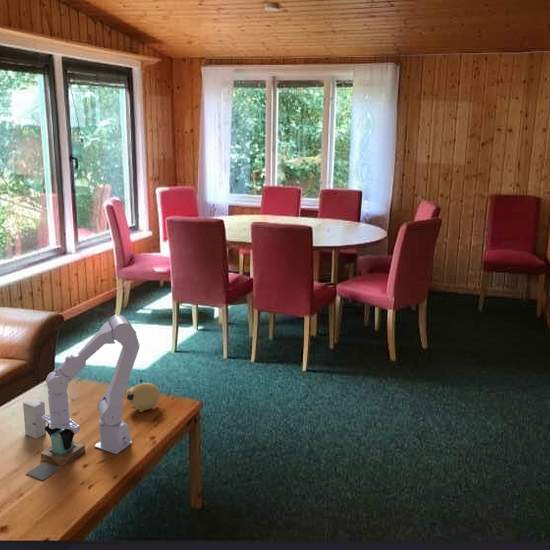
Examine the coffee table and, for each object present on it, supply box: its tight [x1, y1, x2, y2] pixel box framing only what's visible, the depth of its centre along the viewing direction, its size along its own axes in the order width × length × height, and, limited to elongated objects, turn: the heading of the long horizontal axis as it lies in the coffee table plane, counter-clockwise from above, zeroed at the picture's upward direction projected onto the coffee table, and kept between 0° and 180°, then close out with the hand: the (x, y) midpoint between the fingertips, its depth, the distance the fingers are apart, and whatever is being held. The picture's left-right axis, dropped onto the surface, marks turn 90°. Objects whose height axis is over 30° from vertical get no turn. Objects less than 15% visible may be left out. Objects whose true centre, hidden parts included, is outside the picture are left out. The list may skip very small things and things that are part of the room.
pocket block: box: [40, 440, 86, 468], centre depth 189 cm, size 9×10×2 cm
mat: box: [25, 461, 61, 482], centre depth 181 cm, size 7×7×1 cm
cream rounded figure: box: [125, 382, 161, 413], centre depth 218 cm, size 10×12×11 cm
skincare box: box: [22, 397, 47, 440], centre depth 200 cm, size 6×4×12 cm
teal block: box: [50, 429, 74, 456], centre depth 188 cm, size 4×5×8 cm
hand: (62, 446), depth 189 cm, fingers closed on teal block, 4 cm apart
